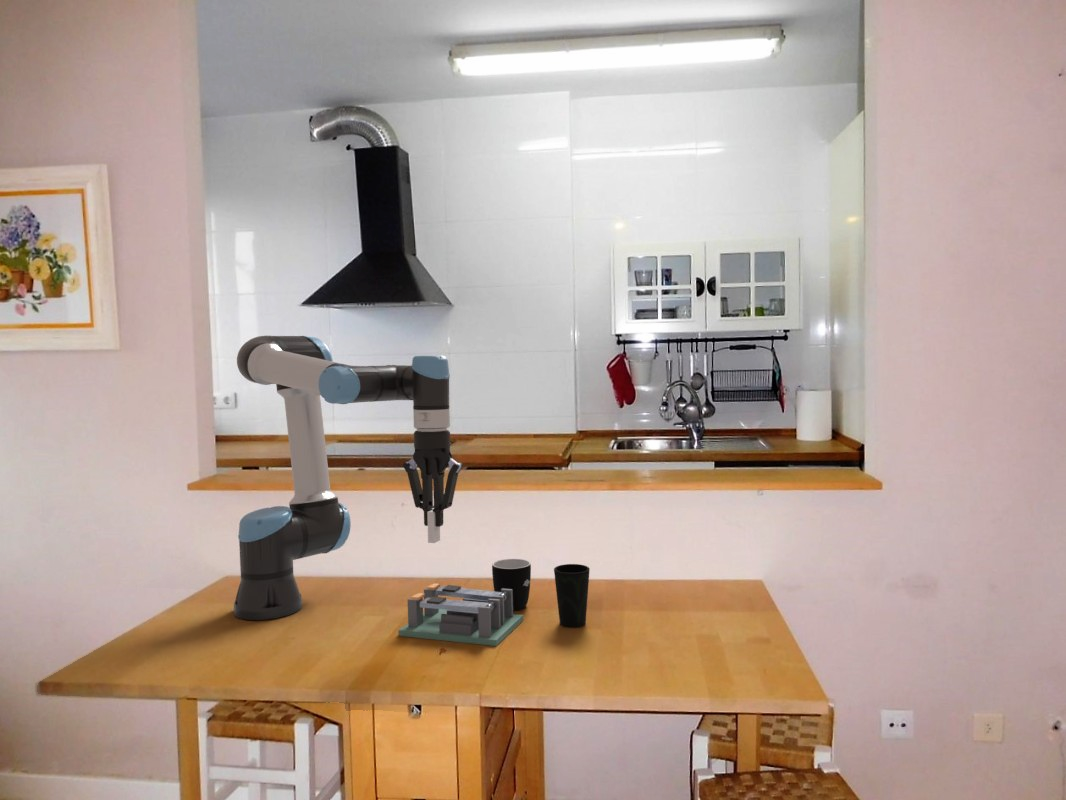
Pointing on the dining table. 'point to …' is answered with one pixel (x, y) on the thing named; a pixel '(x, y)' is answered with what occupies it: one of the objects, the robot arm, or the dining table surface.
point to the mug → (513, 579)
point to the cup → (572, 594)
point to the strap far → (468, 593)
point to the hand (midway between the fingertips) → (434, 541)
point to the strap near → (454, 604)
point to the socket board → (461, 620)
